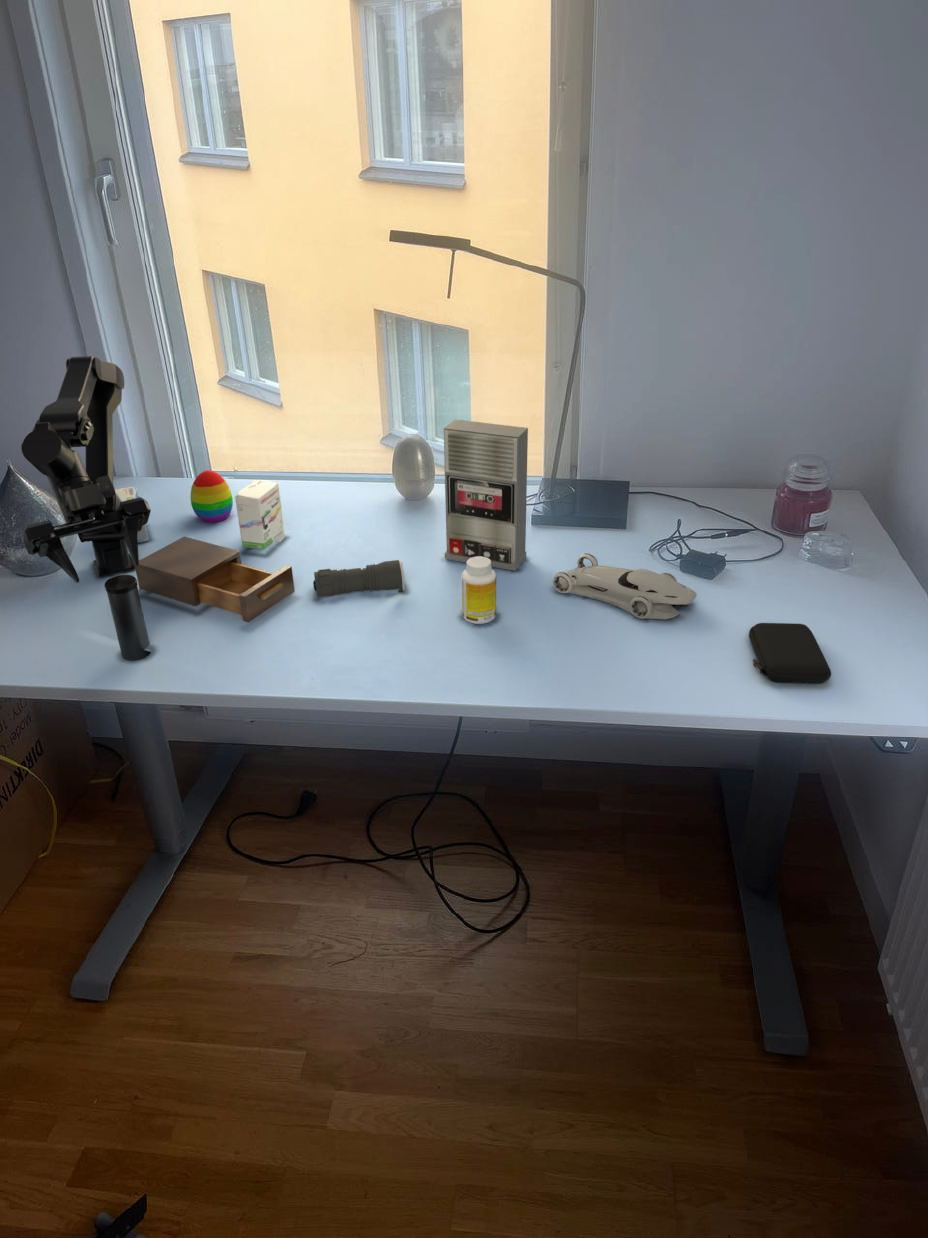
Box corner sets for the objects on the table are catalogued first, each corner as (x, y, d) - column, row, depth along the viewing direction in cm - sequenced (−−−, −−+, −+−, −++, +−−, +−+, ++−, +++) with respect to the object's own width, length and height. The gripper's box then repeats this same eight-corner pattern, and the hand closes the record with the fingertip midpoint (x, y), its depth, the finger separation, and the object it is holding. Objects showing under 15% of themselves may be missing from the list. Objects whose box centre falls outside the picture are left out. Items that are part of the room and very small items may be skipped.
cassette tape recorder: (444, 560, 172) (440, 429, 160) (457, 546, 177) (454, 418, 164) (515, 572, 168) (517, 439, 155) (526, 558, 173) (529, 427, 160)
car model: (578, 566, 170) (579, 541, 167) (705, 602, 157) (708, 575, 155) (547, 590, 162) (547, 564, 159) (678, 630, 150) (681, 603, 147)
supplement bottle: (502, 620, 153) (502, 564, 148) (471, 628, 151) (470, 572, 146) (486, 605, 157) (486, 551, 152) (456, 613, 155) (455, 558, 150)
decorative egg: (229, 525, 187) (222, 478, 182) (189, 525, 187) (181, 478, 182) (238, 508, 194) (232, 463, 189) (199, 509, 194) (192, 463, 189)
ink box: (265, 556, 175) (257, 498, 169) (242, 553, 176) (233, 495, 170) (286, 537, 182) (279, 480, 176) (263, 534, 183) (256, 478, 177)
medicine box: (121, 529, 186) (112, 489, 182) (144, 525, 188) (136, 485, 183) (125, 545, 180) (116, 503, 176) (149, 541, 181) (141, 499, 177)
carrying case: (738, 634, 148) (757, 687, 135) (741, 617, 147) (760, 669, 134) (807, 636, 147) (832, 689, 135) (810, 619, 146) (836, 671, 133)
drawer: (189, 609, 157) (183, 578, 154) (237, 579, 166) (232, 550, 163) (252, 629, 151) (247, 597, 148) (298, 597, 160) (295, 567, 157)
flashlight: (316, 606, 158) (312, 578, 155) (313, 591, 163) (310, 564, 160) (405, 596, 161) (404, 568, 158) (401, 581, 165) (399, 554, 163)
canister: (117, 651, 147) (100, 580, 140) (146, 642, 149) (130, 571, 142) (126, 664, 143) (109, 592, 137) (156, 654, 146) (140, 583, 139)
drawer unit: (141, 596, 162) (133, 562, 159) (190, 568, 171) (184, 536, 168) (197, 613, 157) (190, 579, 153) (244, 583, 166) (239, 550, 162)
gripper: (8, 476, 136) (47, 571, 134) (135, 448, 145) (173, 537, 143) (9, 508, 145) (46, 598, 143) (128, 480, 155) (163, 564, 153)
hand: (108, 573), depth 145 cm, fingers open, 9 cm apart
